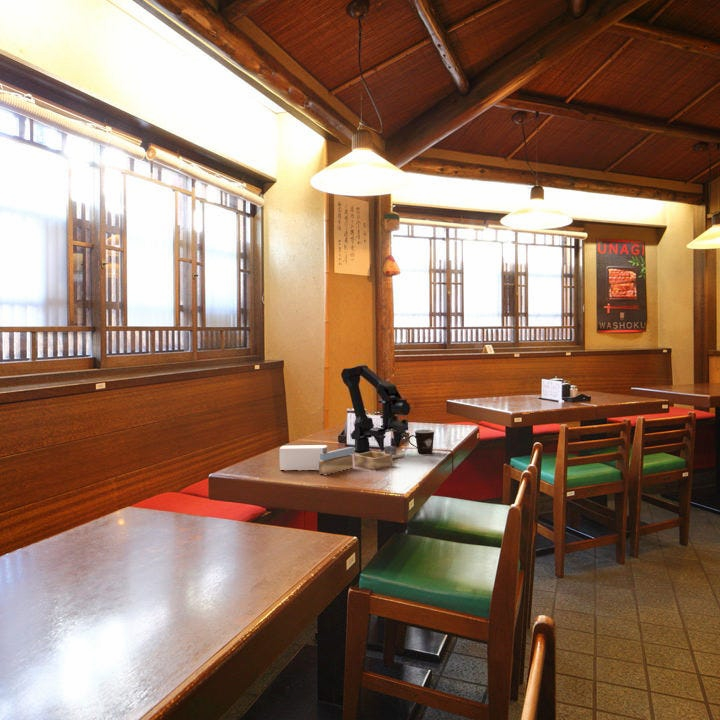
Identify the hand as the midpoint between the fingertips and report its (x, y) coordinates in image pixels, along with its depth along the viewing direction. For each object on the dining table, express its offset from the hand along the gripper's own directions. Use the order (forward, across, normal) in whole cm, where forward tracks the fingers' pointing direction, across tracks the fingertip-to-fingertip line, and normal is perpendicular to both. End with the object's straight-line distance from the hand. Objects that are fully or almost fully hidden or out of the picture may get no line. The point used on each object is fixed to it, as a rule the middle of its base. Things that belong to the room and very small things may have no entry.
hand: (389, 449), depth 243 cm
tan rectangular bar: (+4, -32, -2) cm, 32 cm away
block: (-2, -31, -2) cm, 31 cm away
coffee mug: (+4, +14, -6) cm, 16 cm away
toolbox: (+4, -16, -6) cm, 17 cm away
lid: (+3, 0, +2) cm, 4 cm away
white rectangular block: (+4, -38, +12) cm, 40 cm away
